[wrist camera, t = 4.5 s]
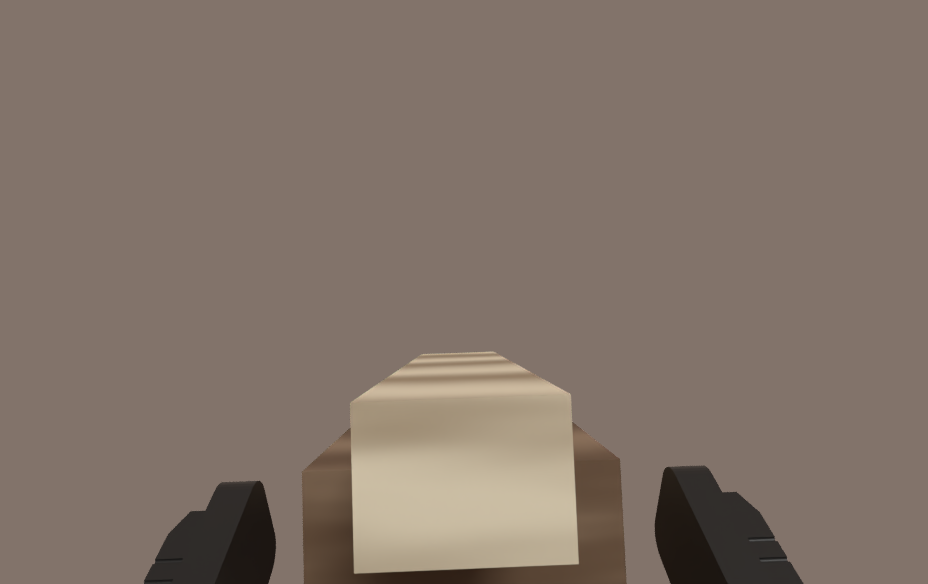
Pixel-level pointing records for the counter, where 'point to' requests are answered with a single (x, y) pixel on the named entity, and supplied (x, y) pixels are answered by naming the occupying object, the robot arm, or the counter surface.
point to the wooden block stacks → (591, 580)
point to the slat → (462, 468)
